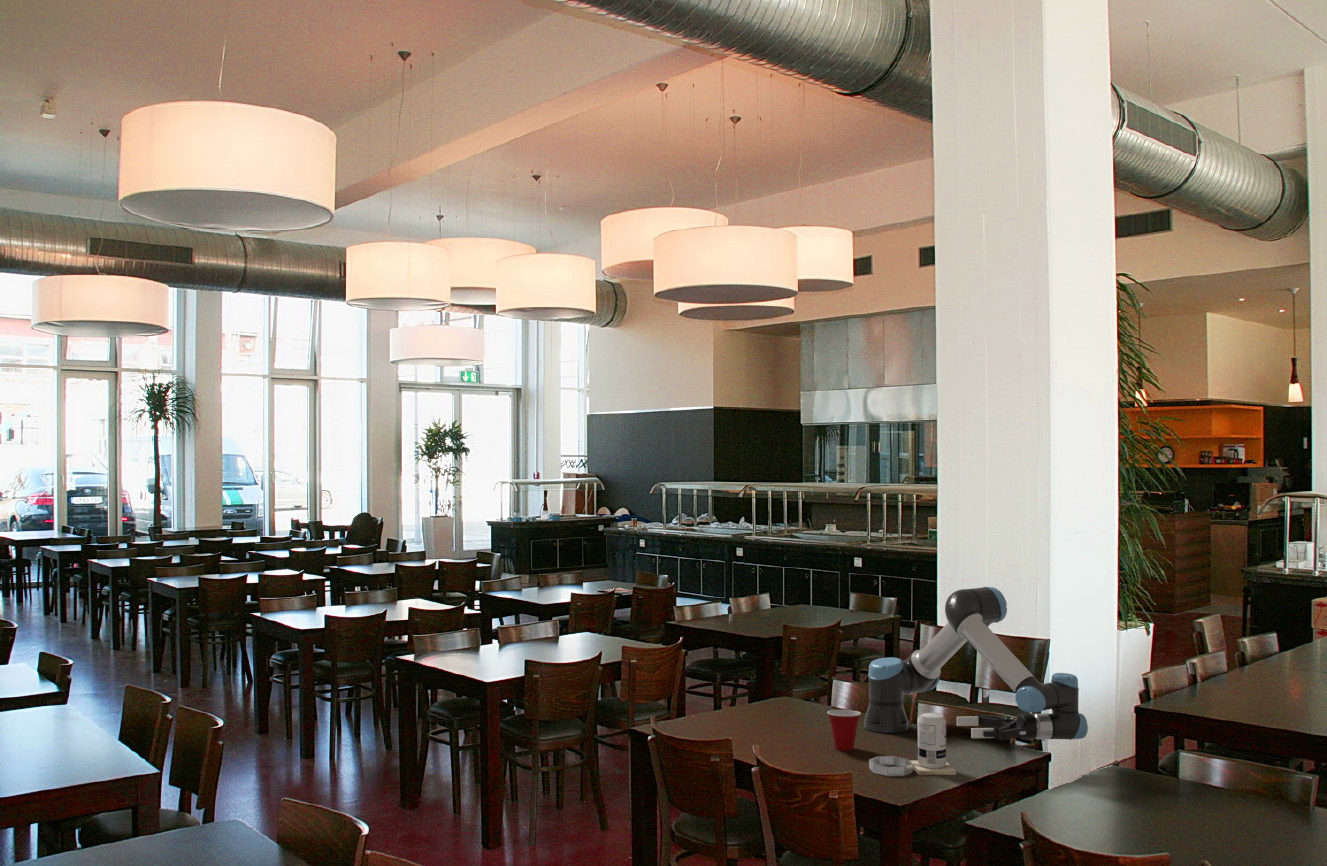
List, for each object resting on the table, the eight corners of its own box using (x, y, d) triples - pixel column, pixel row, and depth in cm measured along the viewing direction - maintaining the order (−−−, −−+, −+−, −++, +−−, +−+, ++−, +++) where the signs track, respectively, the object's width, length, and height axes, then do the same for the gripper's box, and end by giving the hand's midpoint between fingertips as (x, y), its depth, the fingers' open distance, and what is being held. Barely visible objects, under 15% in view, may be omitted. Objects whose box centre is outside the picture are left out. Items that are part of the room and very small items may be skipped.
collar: (866, 764, 319) (866, 756, 319) (905, 763, 319) (905, 755, 319) (875, 776, 307) (875, 767, 307) (916, 775, 307) (916, 767, 307)
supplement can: (914, 761, 317) (913, 712, 318) (940, 761, 318) (940, 711, 318) (923, 769, 309) (922, 718, 310) (950, 768, 310) (949, 718, 310)
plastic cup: (859, 744, 341) (859, 707, 342) (862, 753, 331) (862, 715, 331) (826, 743, 342) (826, 706, 343) (828, 752, 332) (827, 714, 332)
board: (908, 764, 319) (908, 760, 319) (944, 763, 319) (944, 759, 319) (919, 775, 308) (919, 771, 308) (955, 774, 308) (955, 770, 308)
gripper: (1050, 750, 303) (978, 751, 302) (1018, 728, 327) (951, 728, 327) (1050, 724, 303) (978, 725, 302) (1018, 704, 328) (951, 704, 327)
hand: (964, 727), depth 314 cm, fingers open, 13 cm apart
